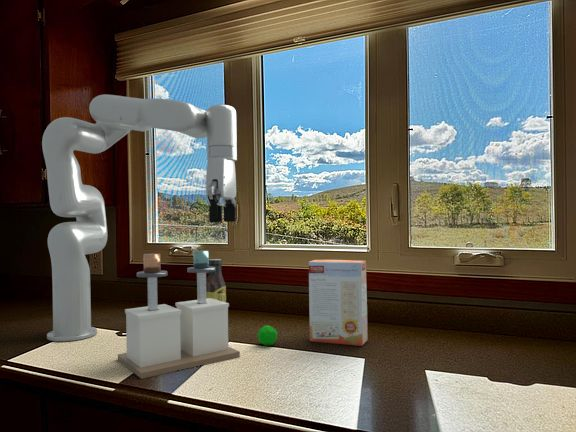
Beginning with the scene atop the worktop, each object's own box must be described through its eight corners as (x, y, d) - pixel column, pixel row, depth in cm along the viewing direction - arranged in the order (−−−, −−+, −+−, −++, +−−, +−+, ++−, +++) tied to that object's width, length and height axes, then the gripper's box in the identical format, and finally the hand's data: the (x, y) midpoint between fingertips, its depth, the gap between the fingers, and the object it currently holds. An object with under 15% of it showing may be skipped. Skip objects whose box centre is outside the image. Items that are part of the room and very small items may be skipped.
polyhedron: (280, 343, 117) (280, 325, 117) (271, 348, 113) (270, 329, 113) (264, 341, 120) (263, 323, 120) (253, 346, 115) (253, 327, 115)
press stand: (117, 359, 106) (116, 307, 106) (208, 342, 120) (207, 295, 120) (141, 378, 93) (140, 319, 93) (239, 356, 107) (238, 305, 107)
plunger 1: (133, 318, 103) (132, 254, 103) (161, 314, 107) (160, 252, 107) (143, 323, 98) (142, 256, 98) (172, 319, 102) (171, 254, 102)
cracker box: (368, 341, 119) (367, 259, 119) (362, 347, 113) (361, 262, 113) (316, 336, 124) (315, 258, 124) (309, 341, 118) (307, 260, 118)
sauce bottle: (221, 329, 133) (220, 260, 133) (201, 328, 134) (200, 260, 134) (229, 324, 139) (228, 258, 139) (209, 323, 140) (208, 258, 140)
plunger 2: (183, 311, 111) (182, 251, 111) (208, 307, 114) (207, 249, 114) (195, 315, 105) (194, 252, 105) (220, 311, 109) (220, 251, 109)
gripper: (220, 159, 127) (221, 221, 127) (194, 151, 110) (195, 222, 110) (246, 158, 125) (247, 221, 125) (223, 149, 108) (224, 222, 108)
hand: (223, 221), depth 117 cm, fingers open, 9 cm apart
